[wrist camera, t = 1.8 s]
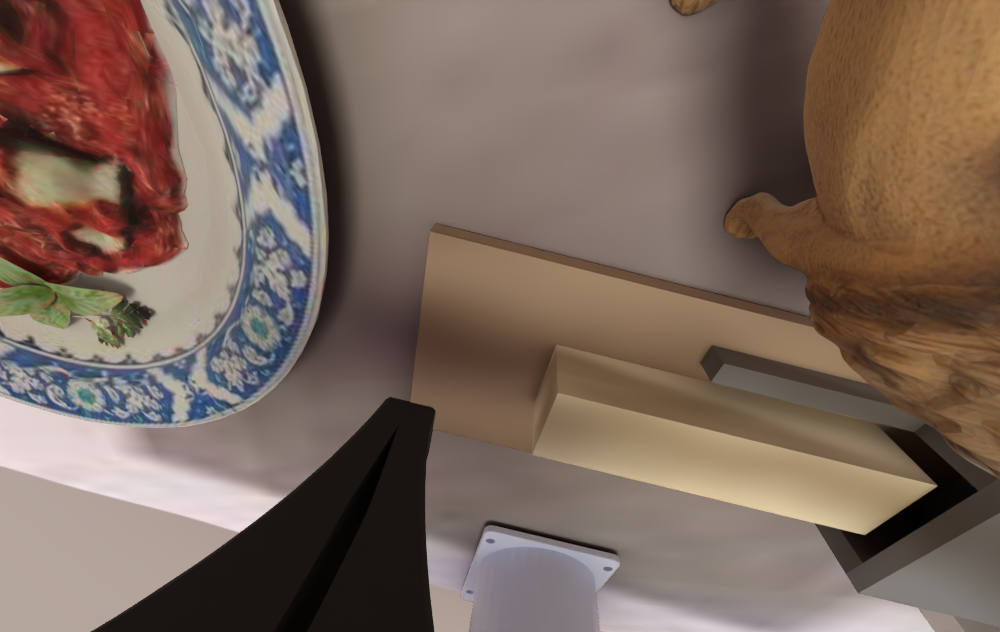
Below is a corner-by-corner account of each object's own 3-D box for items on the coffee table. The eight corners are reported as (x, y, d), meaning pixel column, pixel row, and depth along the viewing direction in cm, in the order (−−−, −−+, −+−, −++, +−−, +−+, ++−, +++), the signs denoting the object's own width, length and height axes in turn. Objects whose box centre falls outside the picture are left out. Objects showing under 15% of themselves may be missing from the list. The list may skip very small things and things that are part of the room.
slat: (819, 472, 15) (864, 535, 13) (534, 402, 15) (531, 454, 12) (875, 423, 13) (938, 485, 11) (556, 344, 13) (558, 393, 11)
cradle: (876, 521, 17) (971, 644, 13) (413, 409, 17) (373, 502, 13) (1077, 384, 12) (1314, 513, 9) (436, 223, 12) (384, 282, 8)
